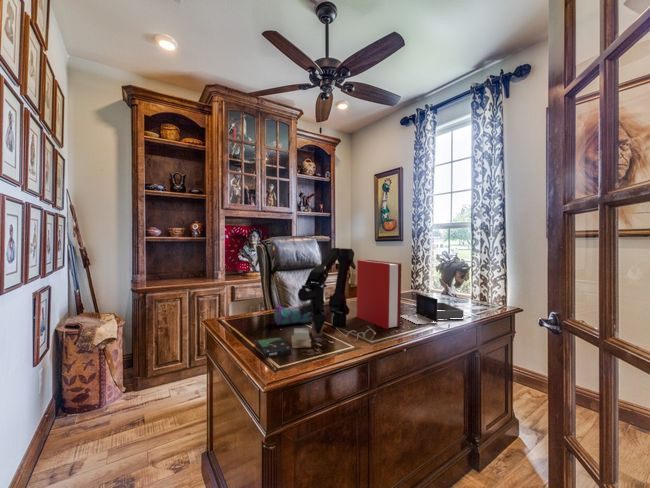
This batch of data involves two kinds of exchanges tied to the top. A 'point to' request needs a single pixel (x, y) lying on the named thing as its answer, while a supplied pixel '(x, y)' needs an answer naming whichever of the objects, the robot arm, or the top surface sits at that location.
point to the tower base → (300, 343)
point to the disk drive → (274, 347)
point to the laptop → (424, 310)
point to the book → (379, 292)
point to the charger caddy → (448, 311)
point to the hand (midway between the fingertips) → (317, 332)
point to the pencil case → (290, 316)
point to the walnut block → (315, 330)
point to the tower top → (301, 334)
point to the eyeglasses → (358, 333)
